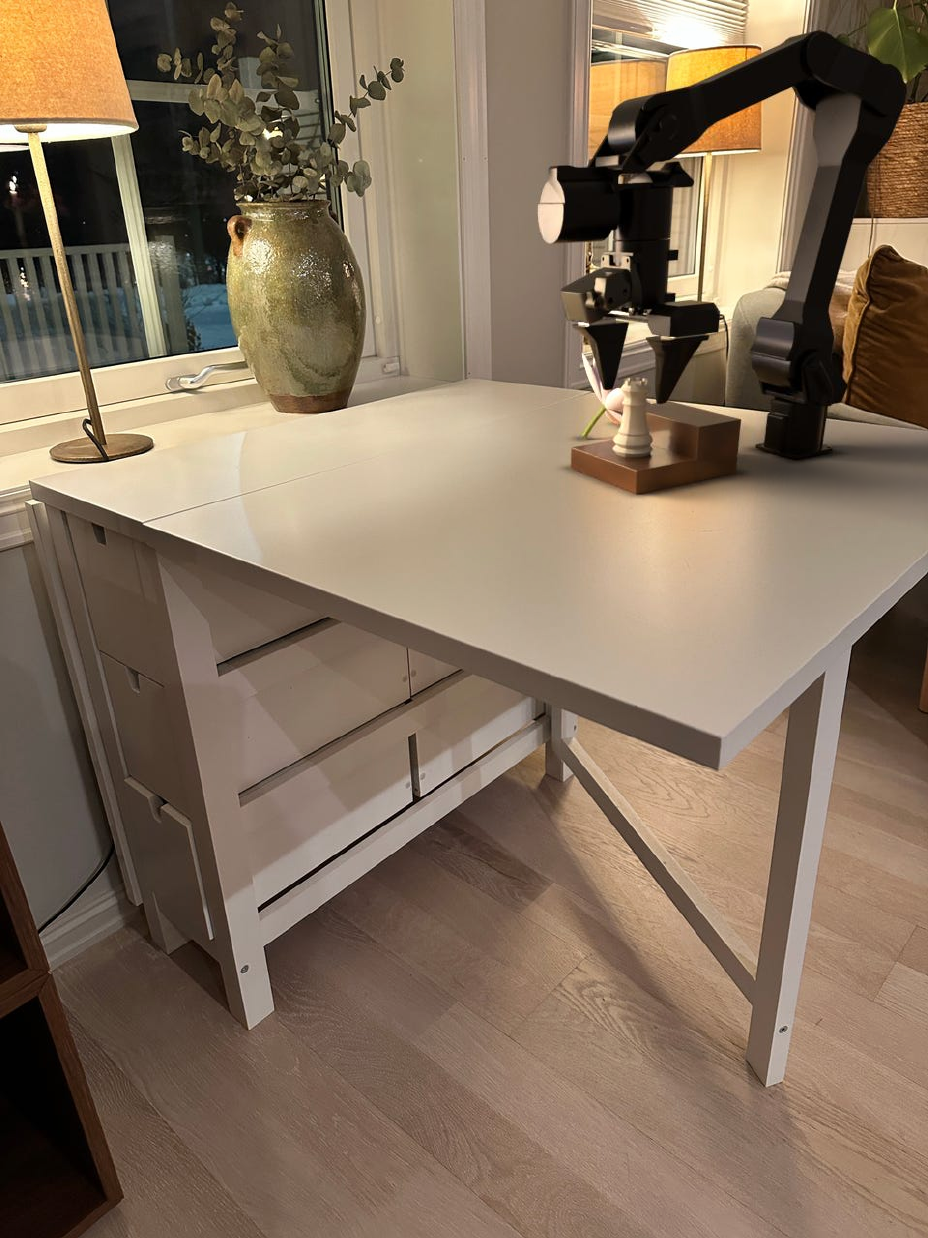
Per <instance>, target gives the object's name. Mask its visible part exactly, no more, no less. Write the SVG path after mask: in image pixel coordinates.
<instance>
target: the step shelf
mask: <svg viewBox="0 0 928 1238" xmlns="http://www.w3.org/2000/svg"><path fill="white" fill-rule="evenodd" d="M646 420H647V427H648V430H649V434H650V435H651V437H652V438H653V442H652V443H651V444H650V446H651V447H652V448H653V450H652V451H651V453H650V454H649V455H647V456H644V457H623V456H619V455H617V454H616V453H615V452H614V450H613V449H612V448H613V447H614V446H615V445H616V444H615V442H614V441H613V440H614V439H610V440H605V441H598V442H593V443H587V444H581V445H577V446H572V447H571V448H570V449H571V452H570V459H571V460H570V469H571V470H574V471H577V472H579V473H581V474H585V475H586V476H590V477H592V478H594V479H597V480H599V481H601V482H604V483H607V484H609V485H612V486H614V487H616V488H620V489H622V490H624V491H627V492H628V493H629V492H630V493H632V494H635V495H639V494H642V493H648V492H653V491H657V490H662V489H666V488H671V487H676V486H681V485H685V484H690V483H695V482H700V481H705V480H709V479H714V478H718V477H722V476H728V475H731V474H736V473H737V465H738V456H739V445H740V437H741V436H740V435H741V428H742V427H741V426H742V419H741V418H738V417H734V416H730V415H726V414H722V413H718V412H713V411H710V410H706V409H702V408H698V407H695V406H691V405H687V404H682V403H678V402H674V401H670V400H668V401H667V402H666V403H665V404H657V403H656V402H654V403H651V404H647V405H646Z"/></svg>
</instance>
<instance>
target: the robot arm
mask: <svg viewBox="0 0 928 1238" xmlns="http://www.w3.org/2000/svg"><path fill="white" fill-rule="evenodd" d="M789 89H792V91H793V92H794V94H795V96H796V98H797V100H798V102H799V103H800V105H802V106H803V107H805V108H807V109H808V110H809V111H810V112H812V113H813V114H814V119H813V128H812V137H813V142H814V146H815V151H816V155H817V160H818V161H817V162H818V164H817V169H816V172H815V177H814V180H813V185H812V189H811V192H810V196H809V200H808V203H807V208H806V212H805V216H804V219H803V224H802V227H801V231H800V235H799V239H798V242H797V246H796V252H795V254H794V258H793V262H792V266H791V269H790V274H789V277H788V281H787V285H786V289H785V293H784V296H783V300H782V303H781V304H780V306H779V307H778V309H777V310H776V311H775V312H774V313H773V315H772V316H771V317H767V316H761V317H759V318H758V320H757V323H756V328H755V329H756V330H755V336H754V337H755V338H754V341H753V343H752V345H751V347H750V349H749V350H748V353H749V354H751V355H752V359H751V370H752V371H753V372H754V374H755V376H756V377H757V380H758V384H759V389H760V394H761V395H764V396H771V397H773V398H771V399H770V402H769V411H768V413H767V414H766V423H765V431H764V440H763V442H758V443H755V445H754V449H756V450H760V451H764V452H767V453H771V454H774V455H778V456H781V457H785V458H787V459H792V460H799V459H804V458H809V457H813V456H818V455H823V454H828V453H831V452H834V447H833V446H831V445H826V444H824V439H825V432H826V426H827V425H826V424H827V418H828V410H829V407H832V406H833V405H837V404H841V403H842V401H843V399H844V397H845V395H846V392H847V389H848V387H849V384H848V383H847V381H846V380H845V379H844V377H843V376H842V374H841V373H840V372H839V370H838V369H837V368H836V366H835V365H834V363H832V357H833V351H834V344H835V334H834V329H833V324H832V320H831V316H830V306H831V302H832V298H833V294H834V291H835V288H836V284H837V280H838V277H839V273H840V270H841V265H842V263H843V258H844V254H845V251H846V247H847V244H848V240H849V237H850V233H851V230H852V226H853V222H854V219H855V214H856V212H857V207H858V204H859V200H860V197H861V193H862V190H863V186H864V182H865V180H866V179H865V178H866V175H867V172H868V169H869V167H870V165H871V164H872V163H873V161H874V160H875V159H876V157H877V156H878V155H879V154H880V152H881V151H882V150H883V149H884V148H885V146H886V145H887V144H888V142H889V141H890V140H891V138H892V136H893V134H894V131H895V129H896V127H897V124H898V122H899V119H900V117H901V115H902V112H903V110H904V107H905V104H906V99H907V95H908V83H906V82H905V80H904V77H903V74H902V72H901V71H900V69H899V68H898V67H897V66H895V65H894V64H891V63H884V62H882V61H881V60H880V59H879V58H877V57H876V56H874V55H872V54H869V53H867V52H864V51H862V50H860V49H857V48H855V47H852V46H849V45H847V44H844V43H842V42H841V41H840V40H838V39H837V38H836V37H835V36H833V35H832V34H831V33H829V32H828V31H827V32H826V31H825V30H821V29H818V30H813V31H809V32H805V33H800V34H797V35H793V36H789V37H788V38H786V39H785V40H784V41H783V42H781V43H780V44H778V45H776V46H774V47H771V48H770V49H767V50H765V51H763V52H761V53H759V54H757V55H754V56H752V57H750V58H747V59H746V60H744V61H743V60H742V62H739V63H737V64H734V65H733V66H732V65H731V67H728V68H726V69H724V70H722V71H719V72H717V73H714V74H713V75H710V76H709V77H706V78H704V79H702V80H700V81H697V82H695V83H693V84H691V85H688V86H685V87H680V88H679V87H678V88H675V89H670V90H666V91H661V92H656V93H652V94H647V95H642V96H637V97H633V98H628V99H625V100H624V101H622V102H621V103H619V104H618V105H616V107H615V108H614V109H613V110H612V112H611V117H610V119H609V122H608V127H607V133H606V135H605V137H604V138H603V139H602V141H601V143H600V144H599V146H598V147H597V149H596V151H595V153H594V154H593V156H592V157H591V159H590V161H589V162H588V164H587V166H581V167H579V166H573V165H569V164H567V165H566V164H561V165H559V164H558V165H550V166H549V167H548V170H547V172H548V177H547V181H546V182H545V184H544V186H543V189H542V191H541V194H540V195H541V196H540V200H539V203H538V204H537V222H538V228H539V232H540V235H541V237H542V239H543V240H544V242H545V243H546V244H549V245H555V244H574V243H575V244H576V243H593V242H594V243H595V242H596V243H597V242H603V241H606V240H607V238H608V237H609V236H610V234H611V233H612V249H611V250H603V254H602V255H601V257H600V267H599V268H598V269H596V270H595V271H592V272H590V273H587V274H585V275H583V276H581V277H580V278H578V279H576V280H573V281H572V282H571V283H568V284H567V285H565V286H563V287H562V288H561V289H560V294H561V298H562V301H563V306H564V309H565V312H564V321H567V322H574V323H572V324H571V327H572V328H573V330H576V331H578V332H579V334H581V335H582V336H583V337H584V339H586V340H587V341H588V344H589V347H590V349H591V352H592V356H593V357H594V359H595V362H596V366H597V370H598V373H599V377H600V380H601V384H602V387H603V389H604V390H612V389H613V386H614V383H615V380H616V377H618V372H619V368H620V365H621V359H622V355H623V350H624V347H625V342H626V338H627V335H628V331H629V326H630V322H637V323H642V324H643V323H644V324H647V328H648V329H649V331H650V334H652V335H653V336H647V337H645V340H646V342H647V343H648V345H649V346H650V348H651V350H653V353H654V360H655V361H654V394H655V403H657V404H665V403H666V402H667V401H669V399H670V398H671V395H672V393H673V392H674V390H675V388H676V386H677V384H678V382H679V381H680V378H681V377H682V375H683V373H684V372H685V370H686V368H687V366H688V364H689V363H690V361H692V358H693V356H695V354H696V352H697V350H698V349H699V347H700V346H701V344H702V343H703V342H707V341H709V340H710V334H715V333H716V334H718V333H719V331H720V320H721V319H720V318H721V310H720V309H719V308H718V306H717V305H716V303H715V302H711V301H703V300H694V299H689V300H688V299H687V300H677V301H676V299H677V298H676V295H677V292H671V291H670V292H669V291H668V283H669V268H670V262H673V261H674V262H675V261H679V253H680V250H679V249H676V248H675V249H673V248H671V237H672V222H673V221H672V220H673V205H674V204H673V203H674V189H681V188H683V189H684V188H692V187H693V186H694V185H695V180H694V178H693V177H692V176H691V175H690V174H689V173H688V172H686V171H685V169H684V168H683V166H682V165H681V162H680V161H678V160H676V161H675V160H674V161H671V160H672V159H674V158H676V157H677V156H678V155H679V154H681V153H683V152H684V151H686V149H688V148H689V147H691V146H692V145H693V144H695V143H696V142H698V141H699V139H700V138H702V136H703V135H704V134H705V133H706V132H707V130H708V129H710V128H711V127H713V126H714V125H715V124H717V123H718V122H720V121H722V120H724V119H726V118H729V117H731V116H733V115H735V114H737V113H740V112H742V111H744V110H747V109H749V108H750V107H752V106H754V105H757V104H759V103H761V102H763V101H765V100H768V99H770V98H772V97H773V96H776V95H778V94H780V93H783V92H784V91H786V90H789ZM664 162H665V163H664ZM657 163H664V165H663V166H662V167H661V168H660V169H657V170H656V169H655V170H650V169H649V168H651V167H652V166H653V165H654V164H657ZM648 169H649V170H648ZM625 175H626V176H627V175H631V176H630V177H629V179H628V181H627V182H626V183H619V179H620V178H619V177H620V176H625ZM630 309H631V310H630Z"/></svg>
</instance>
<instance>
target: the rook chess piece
mask: <svg viewBox="0 0 928 1238" xmlns="http://www.w3.org/2000/svg"><path fill="white" fill-rule="evenodd" d="M641 379H642V380H641ZM620 388H621V391H622V392H623V394H624V401H623V402H622V404H623V405H624V407H623V417H622V422H621V425H619V429H617V433H616V435H615V436H614V437H613V439H612V440H613V441H614V442H615V444H616V445H615V446H614V447H613V448H612V449H613V450H614V452H615V453H616V454H617V455H619V456H623V457H644V456H647V455H649V454H650V453H651V451H652V450H653V448H652V447H651V446H650V444H651V443H652V442H653V438H652V437H651V435H650V434H649V430H648V427H647V420H646V405H647V404H648V402H647V396H648V394H649V393H650V391H651V390H652V388H651V387H650V385H649V379H648V378H646V377H643V378H641V377H639V376H638V377H635V380H633V377H627V378H624V379H623V384H622V386H621V387H620Z"/></svg>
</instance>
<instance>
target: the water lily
mask: <svg viewBox="0 0 928 1238" xmlns="http://www.w3.org/2000/svg"><path fill="white" fill-rule="evenodd" d="M581 357H582V362H583V367H584V370H585V373H586V376H587V378H588V381H589V384H590V386H591V388H592V389H593V391H594V393H595V395H596V397H597V399H598V400H599V402H600V403H601V404H602V408H601V409H600V410H599V412H598V413H596V415H595V416H594V418H593V419H592V420H591V421H590V423H589V424H588V425H587V427H586V428H585V430H584V431H583V433H582V435H581V437H582V438H583V439H584V440H585V439H586V440H587V437H588V436H589V434H590V432H592V430H593V428H594V427H595V425H596V424H597V423H598V421H599V420H600V419H601V417H602V416H603V414H605V416H606V417H607V418H608V419H609V421H611V422H612V423H613V424H616V425H617V426H618V425H619V426H621V422H622V417H623V407H624V405H623V404H622V402H623V401H624V394H623V392H622V391H621V387H619V378H618V376H617V377H616V380H615V383H614V386H613V389H612V390H604V389H603V387H602V384H601V380H600V377H599V373H598V370H597V366H596V362H595V359H594V356H593V357H592V358H593V359H592V364H593V365H591V364H590V362H589V360H588V359H587V358H586V356H585V355H584V354H583V353H581ZM592 367H593V368H592ZM646 400H647V399H646ZM647 402H648V404H652V403H651V401H649V400H647Z"/></svg>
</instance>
